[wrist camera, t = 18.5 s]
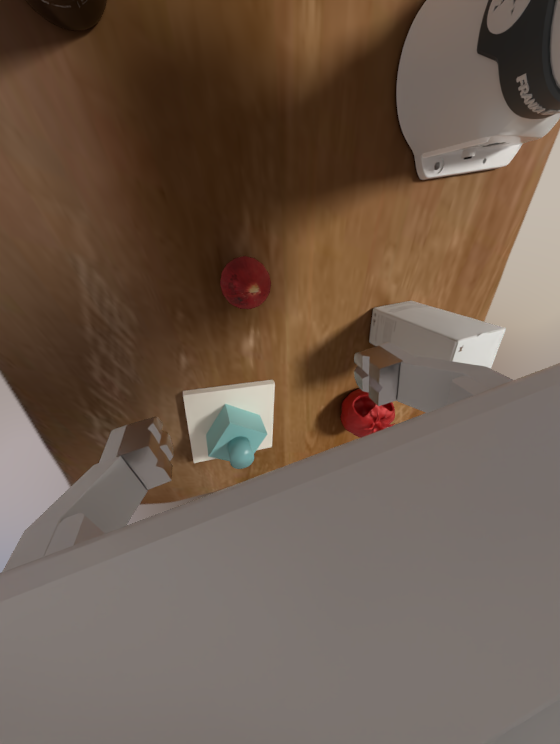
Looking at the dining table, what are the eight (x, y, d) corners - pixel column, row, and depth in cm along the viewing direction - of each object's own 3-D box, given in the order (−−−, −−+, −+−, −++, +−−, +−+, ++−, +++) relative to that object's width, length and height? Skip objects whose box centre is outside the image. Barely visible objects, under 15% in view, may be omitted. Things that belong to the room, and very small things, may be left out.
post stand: (272, 379, 43) (281, 395, 39) (270, 442, 49) (277, 461, 45) (182, 391, 38) (183, 409, 35) (193, 457, 45) (194, 479, 41)
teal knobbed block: (205, 434, 42) (210, 472, 36) (225, 403, 40) (233, 437, 34) (240, 443, 45) (250, 479, 39) (259, 415, 44) (273, 447, 37)
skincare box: (367, 341, 45) (440, 388, 32) (372, 304, 42) (456, 340, 29) (406, 333, 47) (490, 374, 34) (414, 297, 44) (510, 327, 31)
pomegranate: (369, 419, 56) (399, 450, 48) (329, 424, 52) (354, 459, 45) (384, 380, 51) (419, 407, 44) (340, 382, 48) (371, 413, 40)
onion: (236, 309, 35) (248, 328, 29) (207, 273, 32) (213, 286, 25) (269, 282, 35) (290, 295, 28) (243, 243, 32) (260, 248, 25)
